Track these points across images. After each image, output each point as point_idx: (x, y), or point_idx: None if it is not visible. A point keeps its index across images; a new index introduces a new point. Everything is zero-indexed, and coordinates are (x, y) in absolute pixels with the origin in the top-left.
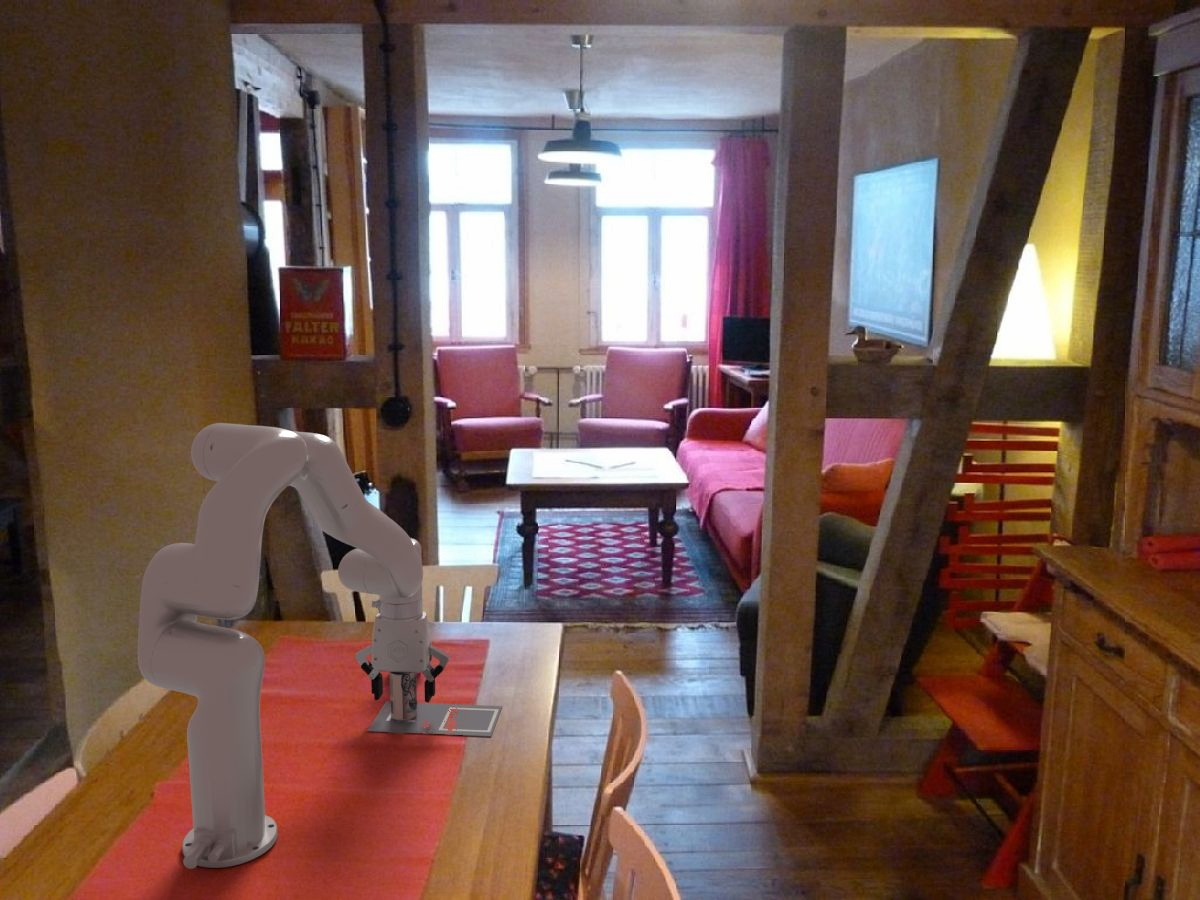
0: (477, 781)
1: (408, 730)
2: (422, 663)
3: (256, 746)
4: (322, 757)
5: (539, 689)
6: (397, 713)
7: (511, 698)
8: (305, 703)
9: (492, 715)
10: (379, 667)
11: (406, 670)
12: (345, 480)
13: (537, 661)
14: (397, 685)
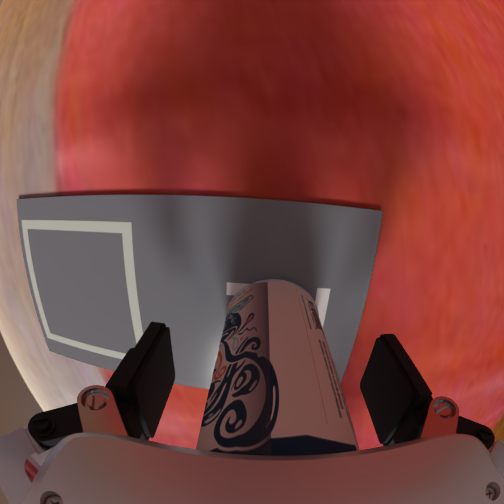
0: (45, 7)
1: (233, 214)
2: (52, 478)
3: None
4: (451, 64)
5: (41, 397)
6: (290, 293)
7: (56, 380)
8: (489, 353)
9: (43, 309)
10: (453, 451)
11: (218, 466)
12: None
13: None
14: (300, 376)
